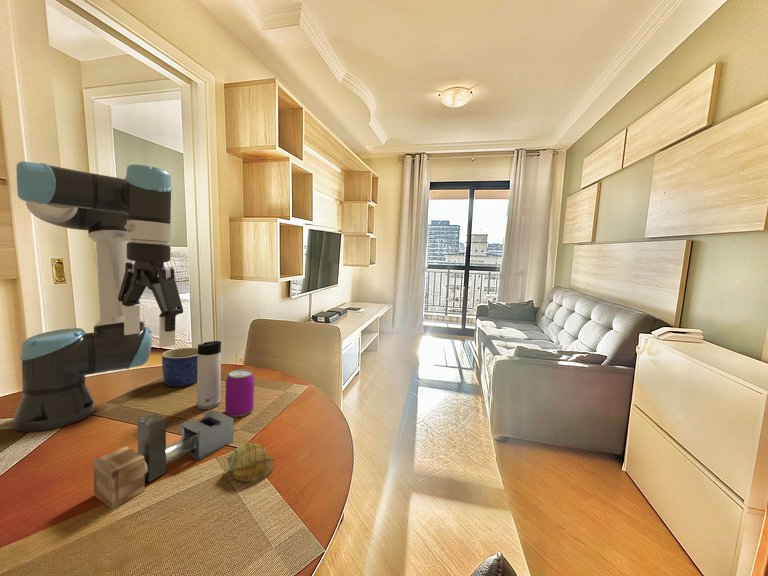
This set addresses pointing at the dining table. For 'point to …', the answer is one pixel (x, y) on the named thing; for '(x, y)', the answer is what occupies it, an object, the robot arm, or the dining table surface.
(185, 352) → the planter
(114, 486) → the socket
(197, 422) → the sleeve
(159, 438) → the sliding bolt
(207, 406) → the travel mug
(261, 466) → the seashell
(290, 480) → the dining table surface
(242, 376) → the beverage can
